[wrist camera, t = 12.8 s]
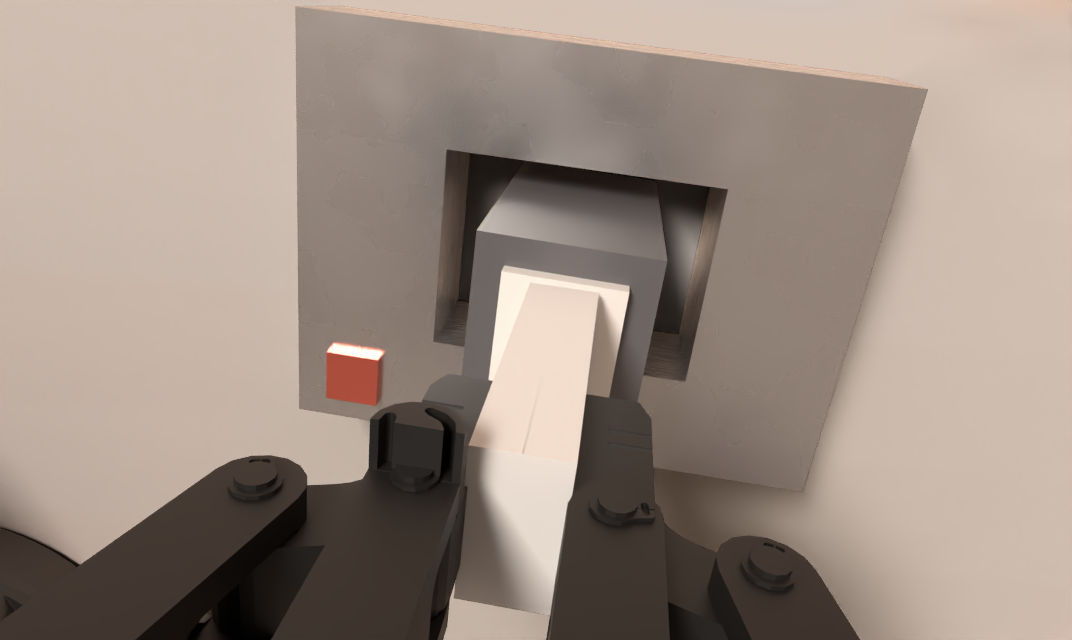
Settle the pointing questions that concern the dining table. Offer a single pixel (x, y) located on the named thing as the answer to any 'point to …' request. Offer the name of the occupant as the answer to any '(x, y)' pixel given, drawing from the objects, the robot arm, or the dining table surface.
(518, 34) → the socket plate
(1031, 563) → the dining table surface
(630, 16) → the dining table surface
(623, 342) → the plug
